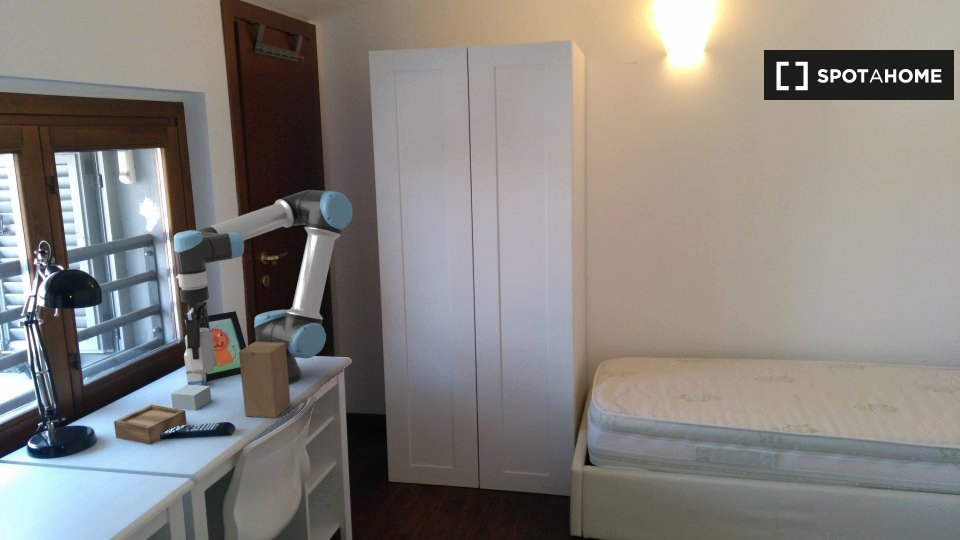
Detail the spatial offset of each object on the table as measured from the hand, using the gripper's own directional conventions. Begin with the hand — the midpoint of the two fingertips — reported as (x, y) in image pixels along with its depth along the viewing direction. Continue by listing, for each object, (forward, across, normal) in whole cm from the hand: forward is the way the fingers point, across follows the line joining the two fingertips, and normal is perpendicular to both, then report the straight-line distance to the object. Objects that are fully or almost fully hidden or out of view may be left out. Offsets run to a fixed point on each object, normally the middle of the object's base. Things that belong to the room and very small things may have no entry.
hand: (202, 364), depth 214 cm
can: (+2, 0, 0) cm, 2 cm away
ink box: (+17, -32, -12) cm, 38 cm away
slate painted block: (+17, -14, -8) cm, 24 cm away
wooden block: (+17, -4, +16) cm, 24 cm away
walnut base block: (+17, +6, -14) cm, 23 cm away
